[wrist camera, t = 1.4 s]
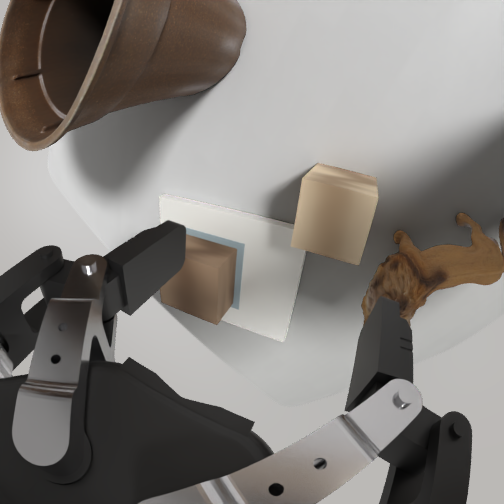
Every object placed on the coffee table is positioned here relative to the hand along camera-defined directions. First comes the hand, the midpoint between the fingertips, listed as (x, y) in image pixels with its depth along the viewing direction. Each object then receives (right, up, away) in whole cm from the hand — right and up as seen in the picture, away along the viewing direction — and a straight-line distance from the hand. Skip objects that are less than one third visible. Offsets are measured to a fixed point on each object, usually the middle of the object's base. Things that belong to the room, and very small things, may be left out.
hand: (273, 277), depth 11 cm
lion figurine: (+15, +2, +11) cm, 19 cm away
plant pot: (-7, +21, +10) cm, 24 cm away
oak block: (+7, +6, +12) cm, 15 cm away
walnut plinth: (-6, -1, +20) cm, 21 cm away
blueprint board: (-4, -1, +20) cm, 21 cm away
